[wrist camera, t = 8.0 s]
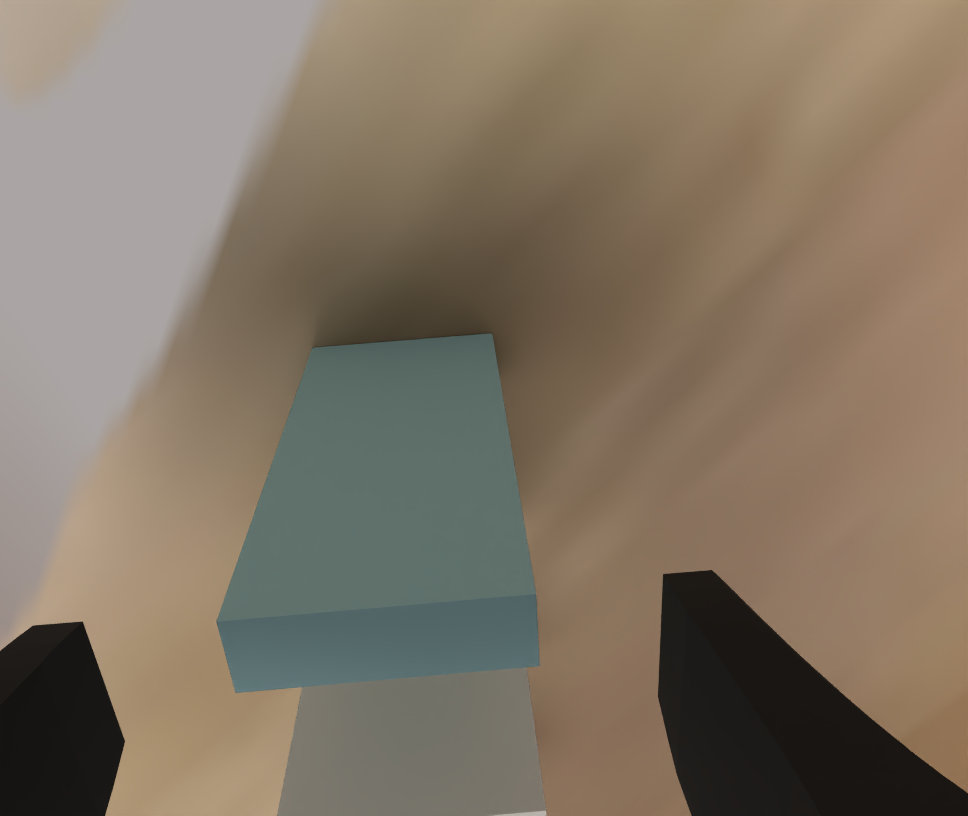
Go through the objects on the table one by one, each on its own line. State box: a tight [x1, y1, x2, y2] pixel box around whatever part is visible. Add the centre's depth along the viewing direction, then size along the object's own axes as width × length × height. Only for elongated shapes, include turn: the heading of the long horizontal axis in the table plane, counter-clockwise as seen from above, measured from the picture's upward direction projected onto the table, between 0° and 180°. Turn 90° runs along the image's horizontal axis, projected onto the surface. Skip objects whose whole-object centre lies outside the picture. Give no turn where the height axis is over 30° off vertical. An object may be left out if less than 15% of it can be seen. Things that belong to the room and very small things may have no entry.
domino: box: [277, 667, 546, 816], centre depth 16 cm, size 1×4×9 cm, turn 94°
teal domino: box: [217, 333, 540, 693], centre depth 15 cm, size 1×4×9 cm, turn 94°
